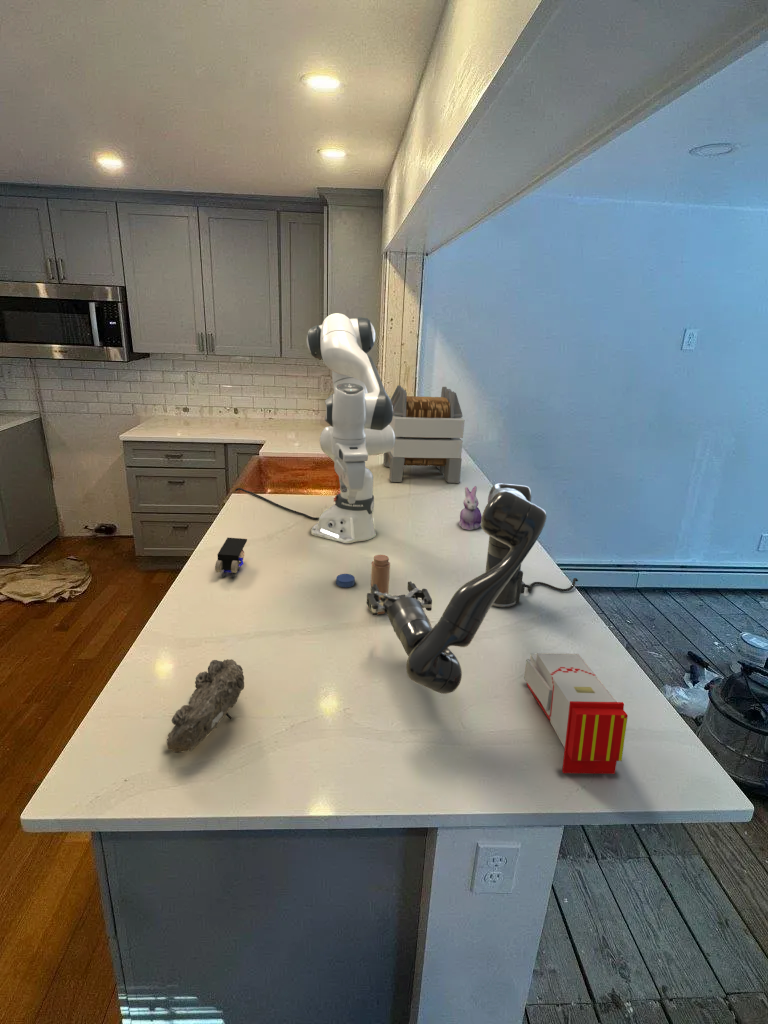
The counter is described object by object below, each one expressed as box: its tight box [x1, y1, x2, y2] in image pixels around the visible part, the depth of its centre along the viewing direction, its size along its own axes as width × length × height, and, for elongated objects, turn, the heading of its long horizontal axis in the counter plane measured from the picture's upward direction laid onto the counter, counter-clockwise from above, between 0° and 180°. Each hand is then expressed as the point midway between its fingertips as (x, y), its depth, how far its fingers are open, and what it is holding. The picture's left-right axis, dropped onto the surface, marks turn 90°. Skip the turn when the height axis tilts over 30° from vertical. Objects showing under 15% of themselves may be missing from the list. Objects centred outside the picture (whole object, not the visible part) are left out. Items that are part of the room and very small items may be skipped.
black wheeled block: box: [214, 537, 248, 578], centre depth 166 cm, size 7×8×15 cm
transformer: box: [383, 384, 465, 484], centre depth 268 cm, size 34×33×41 cm
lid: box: [335, 573, 356, 588], centre depth 162 cm, size 5×5×2 cm
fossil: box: [166, 658, 245, 754], centre depth 106 cm, size 22×10×15 cm
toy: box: [523, 652, 628, 775], centre depth 110 cm, size 12×13×30 cm
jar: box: [369, 554, 391, 615], centre depth 147 cm, size 5×5×15 cm
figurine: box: [458, 485, 482, 531], centre depth 207 cm, size 9×10×15 cm
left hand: (347, 497), depth 154 cm, fingers open, 8 cm apart
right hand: (391, 586), depth 135 cm, fingers open, 8 cm apart
